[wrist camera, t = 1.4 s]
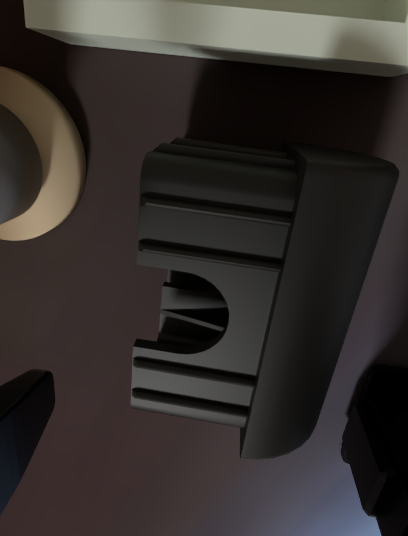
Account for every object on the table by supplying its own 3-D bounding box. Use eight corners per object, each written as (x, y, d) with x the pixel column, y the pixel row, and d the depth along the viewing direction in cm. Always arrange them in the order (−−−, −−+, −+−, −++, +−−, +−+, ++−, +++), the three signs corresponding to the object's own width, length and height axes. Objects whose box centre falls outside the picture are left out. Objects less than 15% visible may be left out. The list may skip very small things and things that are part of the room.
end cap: (302, 354, 18) (330, 478, 12) (164, 331, 19) (124, 441, 12) (359, 149, 14) (446, 178, 8) (182, 125, 15) (135, 136, 8)
